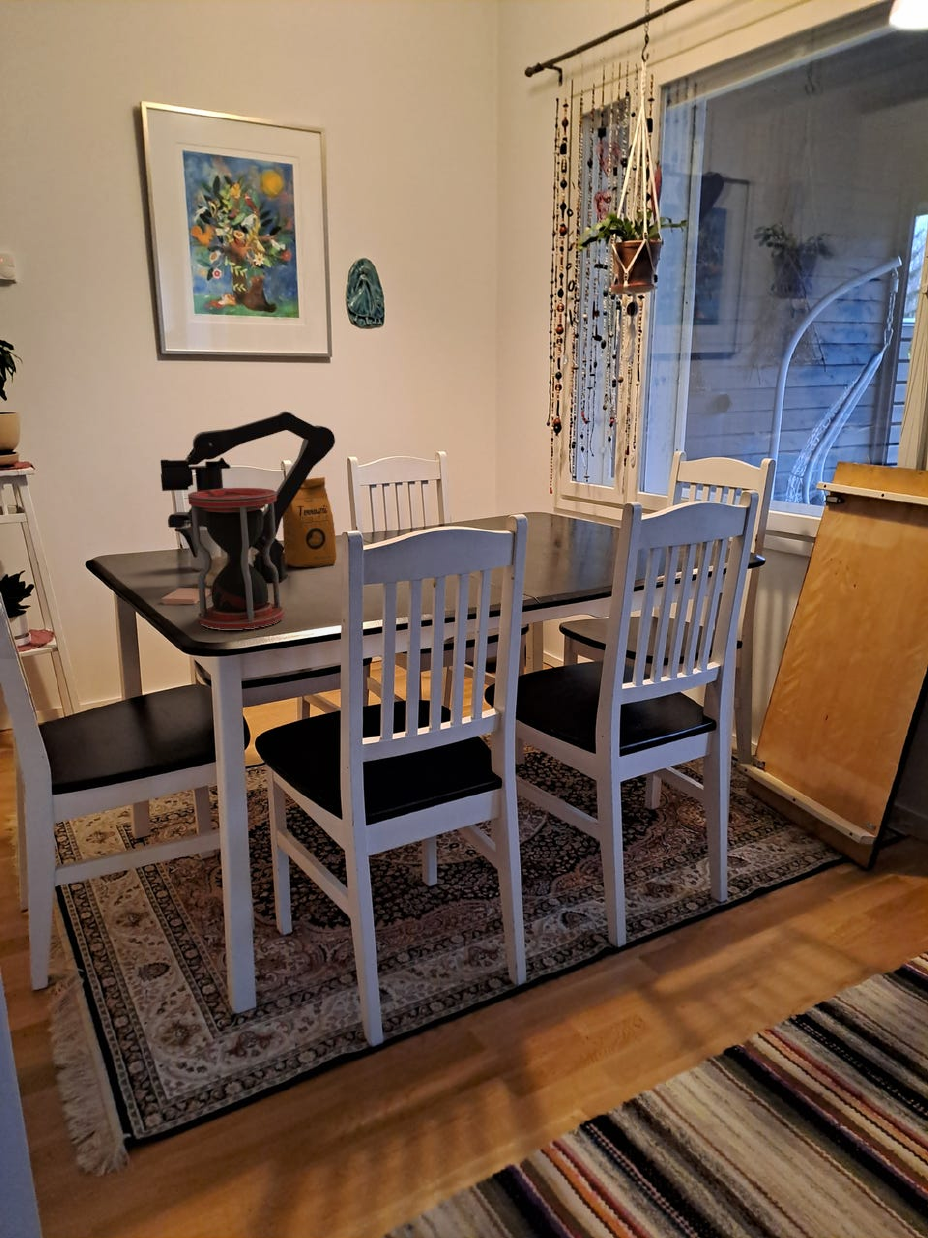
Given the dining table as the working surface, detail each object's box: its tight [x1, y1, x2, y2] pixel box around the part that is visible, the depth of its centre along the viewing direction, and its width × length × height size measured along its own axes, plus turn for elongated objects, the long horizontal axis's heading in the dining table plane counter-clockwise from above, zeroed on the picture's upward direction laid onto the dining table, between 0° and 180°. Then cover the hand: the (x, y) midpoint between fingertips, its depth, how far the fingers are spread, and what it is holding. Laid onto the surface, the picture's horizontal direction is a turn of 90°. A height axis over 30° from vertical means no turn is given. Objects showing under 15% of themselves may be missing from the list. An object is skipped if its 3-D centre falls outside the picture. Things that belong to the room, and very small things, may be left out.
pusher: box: [204, 556, 227, 587], centre depth 197 cm, size 4×4×6 cm
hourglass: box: [187, 487, 285, 629], centre depth 164 cm, size 16×16×25 cm
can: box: [188, 526, 222, 572], centre depth 212 cm, size 8×8×12 cm
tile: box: [161, 587, 211, 605], centre depth 184 cm, size 7×2×9 cm
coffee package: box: [282, 476, 337, 568], centre depth 214 cm, size 10×12×22 cm
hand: (215, 557), depth 196 cm, fingers open, 9 cm apart
